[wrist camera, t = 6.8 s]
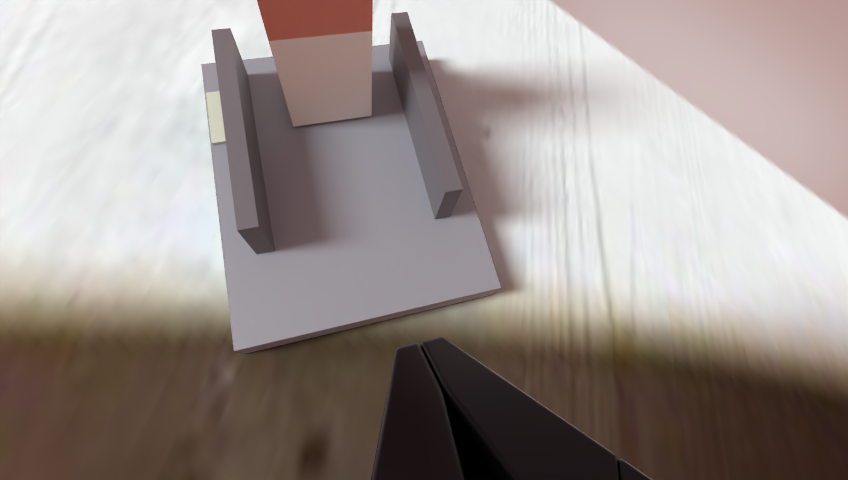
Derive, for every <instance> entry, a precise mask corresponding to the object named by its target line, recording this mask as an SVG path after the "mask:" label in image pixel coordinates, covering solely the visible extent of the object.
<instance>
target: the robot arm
mask: <svg viewBox="0 0 848 480" xmlns="http://www.w3.org/2000/svg"><path fill="white" fill-rule="evenodd" d="M371 480H653V479H651V478H649V477H648V476H647V475H645V474H644V473H642V472H641V471H639V470H638V469H636V468H635V467H633V466H632V465H630V464H629V463H627V462H626V461H625V460H623V459H619V460H618V461H617V456H616V455H615V454H614V453H612V452H611V451H609V450H608V449H607V448H605V447H604V446H602V445H601V444H599V443H598V442H596V441H595V440H593V439H592V438H590V437H589V436H588V435H586V434H585V433H583V432H582V431H580V430H579V429H577V428H576V427H574V426H573V425H571V424H570V423H568V422H567V421H566V420H564V419H563V418H561V417H560V416H558V415H557V414H555V413H554V412H552V411H551V410H549V409H548V408H547V407H545V406H544V405H542V404H541V403H539V402H538V401H536V400H535V399H533V398H532V397H530V396H529V395H527V394H526V393H525V392H523V391H522V390H520V389H519V388H517V387H516V386H514V385H513V384H511V383H510V382H508V381H507V380H505V379H504V378H503V377H501V376H500V375H498V374H497V373H495V372H494V371H492V370H491V369H489V368H488V367H486V366H485V365H484V364H482V363H481V362H479V361H478V360H476V359H475V358H473V357H472V356H470V355H469V354H467V353H466V352H464V351H463V350H462V349H460V348H459V347H457V346H456V345H454V344H453V343H451V342H450V341H448V340H447V339H445V338H443V337H438V338H434V339H430V340H426V341H423V342H422V343H421V345H419V344H417V343H414V344H410V345H406V346H403V347H399V348H397V349H396V351H395V356H394V361H393V367H392V372H391V377H390V382H389V388H388V393H387V398H386V403H385V409H384V414H383V419H382V424H381V430H380V435H379V440H378V445H377V451H376V456H375V461H374V466H373V472H372V477H371Z"/></svg>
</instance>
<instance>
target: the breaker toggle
mask: <svg viewBox="0 0 848 480" xmlns="http://www.w3.org/2000/svg"><path fill="white" fill-rule="evenodd" d="M257 2H258V5H259V9H260V12H261V16H262V19H263V23H264V26H265V30H266V33H267V37H268V40H269V44H270V47H271V51H272V54H273V58H274V61H275V65H276V68H277V72H278V75H279V79H280V82H281V86H282V89H283V93H284V96H285V100H286V103H287V107H288V110H289V114H290V117H291V121H292V124H293V127H295V126H302V125H309V124H316V123H324V122H331V121H338V120H345V119H352V118H359V117H366V116H371V114H372V0H257Z"/></svg>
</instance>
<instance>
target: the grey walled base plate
mask: <svg viewBox="0 0 848 480" xmlns="http://www.w3.org/2000/svg"><path fill="white" fill-rule="evenodd" d="M212 37H213V45H214V53H215V61H216V63H209V64H202V73H203V81H204V90H205V99H206V108H207V117H208V126H209V134H210V143H211V152H212V161H213V170H214V179H215V187H216V196H217V205H218V214H219V223H220V231H221V240H222V249H223V258H224V267H225V276H226V284H227V293H228V302H229V311H230V320H231V329H232V337H233V346H234V351H235V352H239V353H242V354H247V353H251V352H255V351H259V350H263V349H268V348H272V347H276V346H280V345H284V344H288V343H293V342H297V341H301V340H305V339H309V338H313V337H318V336H322V335H326V334H330V333H334V332H338V331H343V330H347V329H351V328H355V327H359V326H363V325H368V324H372V323H376V322H380V321H384V320H388V319H393V318H397V317H401V316H405V315H409V314H413V313H418V312H422V311H426V310H430V309H434V308H438V307H443V306H447V305H451V304H455V303H459V302H463V301H468V300H472V299H476V298H480V297H484V296H488V295H493V294H494V293H495V292H496V291H498V290H499V289H500V288H501V285H500V282H499V279H498V276H497V273H496V270H495V266H494V263H493V260H492V257H491V254H490V251H489V248H488V245H487V242H486V238H485V235H484V232H483V229H482V226H481V223H480V220H479V217H478V214H477V210H476V207H475V204H474V201H473V198H472V195H471V192H470V189H469V186H468V182H467V179H466V176H465V173H464V170H463V167H462V164H461V161H460V158H459V154H458V151H457V148H456V145H455V142H454V139H453V136H452V133H451V130H450V126H449V123H448V120H447V117H446V114H445V111H444V108H443V105H442V102H441V98H440V95H439V92H438V89H437V86H436V83H435V80H434V77H433V74H432V70H431V67H430V64H429V61H428V58H427V55H426V52H425V49H424V45H423V42H422V41H416V39H415V35H414V32H413V29H412V26H411V23H410V20H409V16H408V13H407V12H403V13H392V14H391V31H390V44H388V45H379V46H372V114H371V116H366V117H359V118H352V119H345V120H338V121H331V122H324V123H316V124H309V125H302V126H295V127H293V124H292V121H291V117H290V114H289V110H288V107H287V103H286V100H285V96H284V93H283V89H282V86H281V82H280V79H279V75H278V72H277V68H276V65H275V61H274V58H273V57H266V58H256V59H247V60H242V58H241V56H240V53H239V50H238V48H237V45H236V42H235V40H234V37H233V35H232V32H231V29H230V28H229V29H218V30H212Z"/></svg>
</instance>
